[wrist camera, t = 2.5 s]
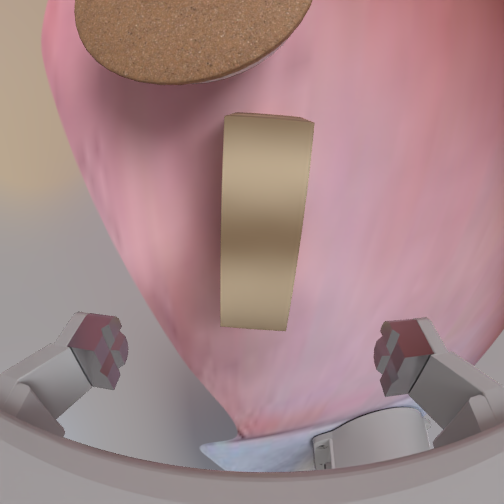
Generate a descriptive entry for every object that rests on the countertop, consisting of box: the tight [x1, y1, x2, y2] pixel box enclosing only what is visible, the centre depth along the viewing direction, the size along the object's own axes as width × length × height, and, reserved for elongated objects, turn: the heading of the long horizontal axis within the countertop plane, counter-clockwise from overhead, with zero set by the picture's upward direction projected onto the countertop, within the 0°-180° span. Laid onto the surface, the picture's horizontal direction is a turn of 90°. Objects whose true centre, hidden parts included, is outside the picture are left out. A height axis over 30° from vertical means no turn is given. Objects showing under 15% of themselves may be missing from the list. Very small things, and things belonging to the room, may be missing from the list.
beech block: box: [220, 112, 314, 331], centre depth 18 cm, size 12×4×6 cm, turn 176°
